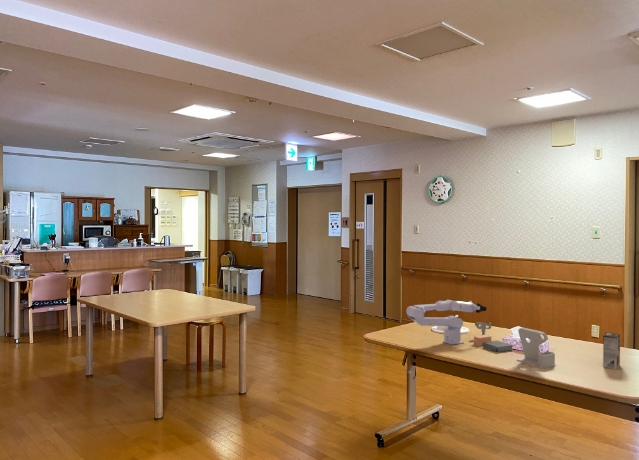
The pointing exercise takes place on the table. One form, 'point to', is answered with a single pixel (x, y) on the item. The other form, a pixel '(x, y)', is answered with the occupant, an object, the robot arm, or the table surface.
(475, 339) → the housing
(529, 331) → the phone holder
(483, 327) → the mechanical component
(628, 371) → the table surface
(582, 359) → the table surface
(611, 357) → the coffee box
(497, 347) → the dark grey flat block
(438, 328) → the dish
